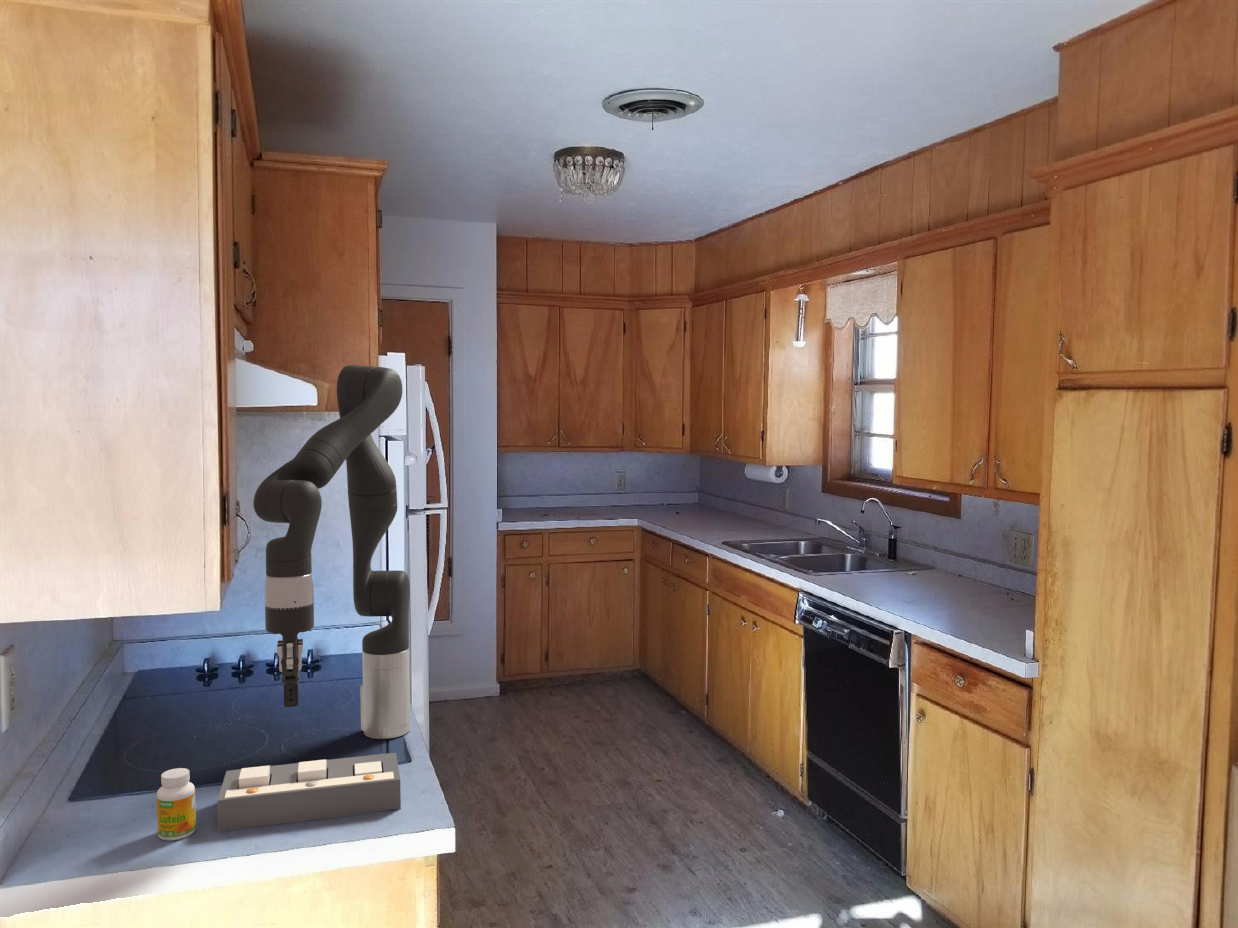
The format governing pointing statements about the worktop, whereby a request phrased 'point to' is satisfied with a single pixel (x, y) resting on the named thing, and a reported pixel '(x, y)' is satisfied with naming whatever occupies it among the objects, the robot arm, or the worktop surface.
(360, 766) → the far key
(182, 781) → the supplement bottle
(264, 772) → the near key
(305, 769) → the middle key
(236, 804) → the button board
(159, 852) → the worktop surface
